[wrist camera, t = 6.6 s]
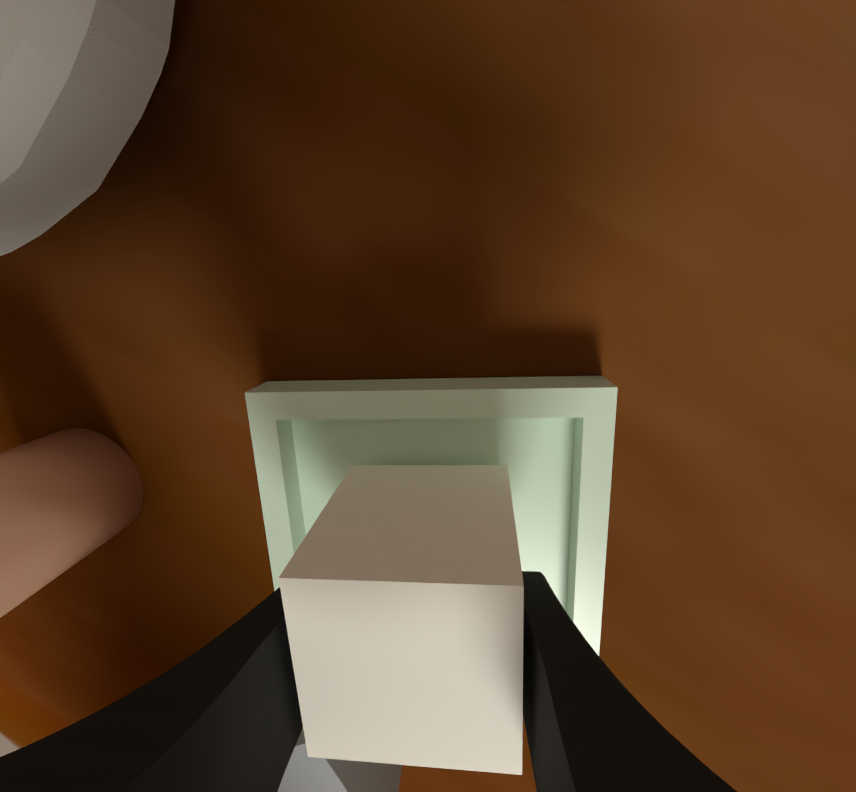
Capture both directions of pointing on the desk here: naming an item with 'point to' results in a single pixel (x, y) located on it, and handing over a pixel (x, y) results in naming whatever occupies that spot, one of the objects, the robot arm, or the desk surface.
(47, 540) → the pink rounded capsule
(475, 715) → the cream block
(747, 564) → the desk surface
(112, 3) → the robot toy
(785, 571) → the desk surface
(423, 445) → the tray
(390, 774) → the slate block
